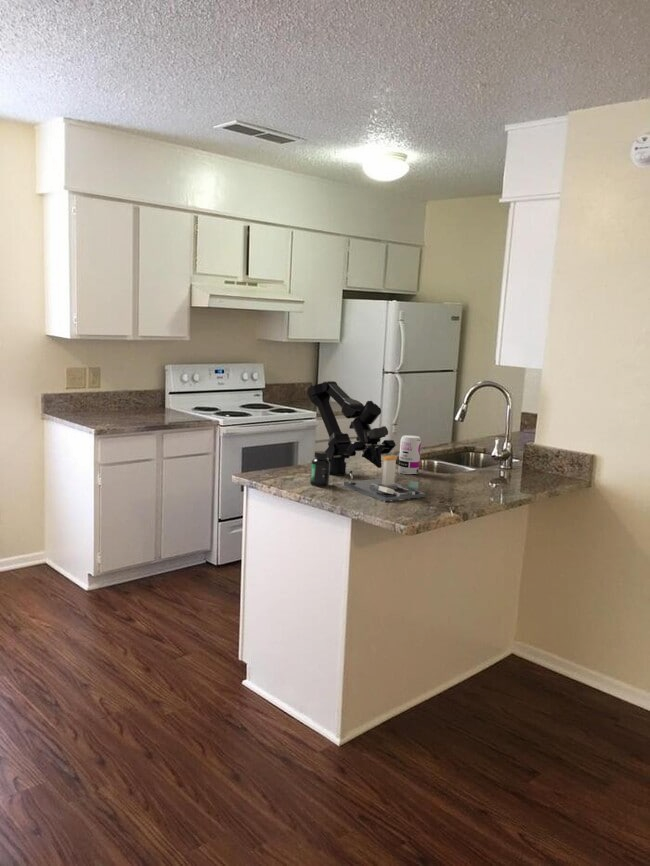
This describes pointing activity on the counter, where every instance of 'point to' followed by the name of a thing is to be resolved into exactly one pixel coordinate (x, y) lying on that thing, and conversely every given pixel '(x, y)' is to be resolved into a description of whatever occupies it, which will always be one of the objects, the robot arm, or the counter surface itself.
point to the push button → (413, 485)
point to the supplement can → (409, 454)
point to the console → (372, 488)
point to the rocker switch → (386, 489)
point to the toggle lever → (351, 474)
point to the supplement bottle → (320, 469)
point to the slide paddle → (389, 472)
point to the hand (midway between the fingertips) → (380, 467)
